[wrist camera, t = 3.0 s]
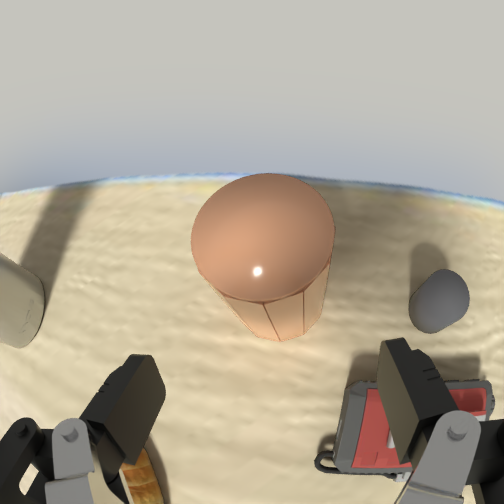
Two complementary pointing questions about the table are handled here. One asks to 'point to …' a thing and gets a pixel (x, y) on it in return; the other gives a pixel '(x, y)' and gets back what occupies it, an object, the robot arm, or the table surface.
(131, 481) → the pastry
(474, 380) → the walkie-talkie
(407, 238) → the table surface
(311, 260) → the cup
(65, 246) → the table surface
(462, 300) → the gray rounded pebble
